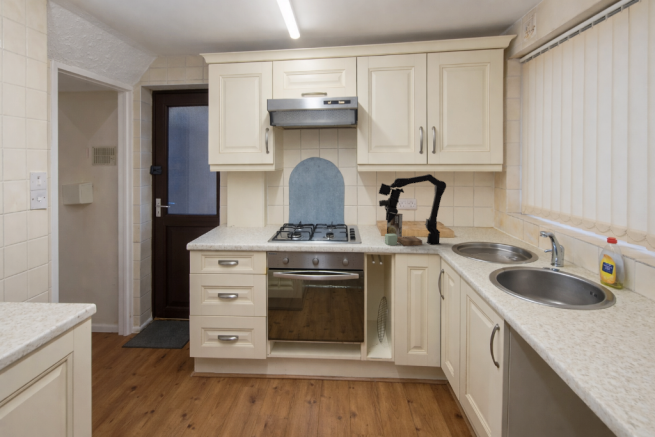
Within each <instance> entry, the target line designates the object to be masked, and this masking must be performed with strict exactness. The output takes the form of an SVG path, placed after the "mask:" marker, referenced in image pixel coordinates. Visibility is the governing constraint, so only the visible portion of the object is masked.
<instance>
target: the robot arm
mask: <svg viewBox="0 0 655 437" xmlns="http://www.w3.org/2000/svg"><path fill="white" fill-rule="evenodd" d="M424 182H430V183H431V184H432V185H433V186H434V197H433V202H432V206H431V210H430V214H429V217H428V218H425V223H424V226H425V229H426V230H427V232H429V233H428V234H427V236H426V237H427V238H426V243H427V244H429V245H431V246H432V245H434V246H435V245H441V243H440V237H441V235H440V234H441V231H440V230H439V229H438V221H437V220H438V218H437V217H438V214H439V210H440V209H439V208H440V205H441V201H442V197H443V195H444V192H445V190H446V189H447V183H446V181H443V180H440V179H438V178H436V177H435V176H433V175H432V174H429V173H427V174H425V175H419V176H418V175H417V176H413V177H397V178H395V179H394V180H393V182H392V183H391V184H390V185H388V184H386V183H383V182H382V183H381V185H380V187H379V190H378V194H379V195H383V196H388V195H389V197H388V198H387V199H382V200H381V199H380V200H379V201H378V203H379V204H378V205H379V207H384V210H385V221H386V224H387V223H390V221H391V220H392V219H393V218H394V217H395V216H396V215H397V213H398V214H399V210H398V207H397V206H398V203H399V200H400V196H401V193H405V191H404V189H403V187H405V186H409V185H411V184H417V183H424ZM387 220H388V221H387Z"/></svg>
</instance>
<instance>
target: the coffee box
mask: <svg viewBox="0 0 655 437" xmlns="http://www.w3.org/2000/svg"><path fill="white" fill-rule="evenodd" d="M387 221H388V220H386V234H396V235H397V237H403V213H399V212H398V213H397V215H396V216H395V217H394V218H393V219H392V220H391V221H390V223H387Z"/></svg>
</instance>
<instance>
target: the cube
mask: <svg viewBox="0 0 655 437" xmlns="http://www.w3.org/2000/svg"><path fill="white" fill-rule="evenodd" d="M384 244H385V245H387V246H397V245H398V242H397V235H396V234H387V233H385V234H384Z"/></svg>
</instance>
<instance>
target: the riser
mask: <svg viewBox="0 0 655 437" xmlns="http://www.w3.org/2000/svg"><path fill="white" fill-rule="evenodd" d="M398 243H399V244H400V245H401V244H402V246H403V247H409V246H422V245H423V239H420V238H419V237H417V236H413V235H412V236H402V237H397V244H398Z"/></svg>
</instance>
